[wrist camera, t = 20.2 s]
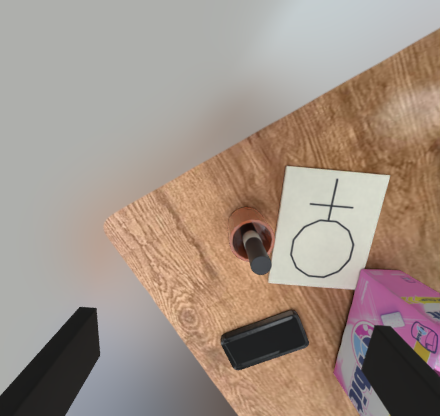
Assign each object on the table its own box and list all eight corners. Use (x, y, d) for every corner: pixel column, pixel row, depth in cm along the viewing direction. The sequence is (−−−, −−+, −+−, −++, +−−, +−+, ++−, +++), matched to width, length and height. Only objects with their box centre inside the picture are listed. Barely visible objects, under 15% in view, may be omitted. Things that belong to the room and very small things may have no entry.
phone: (219, 340, 40) (297, 313, 39) (219, 335, 41) (295, 308, 40) (235, 372, 42) (310, 346, 40) (234, 366, 43) (308, 341, 41)
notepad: (285, 165, 34) (287, 166, 33) (387, 175, 34) (390, 175, 33) (267, 281, 38) (268, 283, 38) (356, 288, 39) (359, 290, 38)
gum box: (367, 377, 44) (439, 473, 31) (330, 378, 43) (388, 477, 30) (401, 269, 38) (508, 330, 25) (359, 267, 37) (447, 330, 24)
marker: (240, 218, 35) (251, 254, 22) (254, 219, 35) (273, 256, 23) (238, 231, 36) (249, 274, 23) (252, 233, 36) (270, 276, 23)
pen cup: (229, 205, 35) (232, 217, 28) (266, 208, 35) (278, 221, 28) (225, 240, 37) (227, 260, 30) (261, 243, 37) (271, 263, 30)
